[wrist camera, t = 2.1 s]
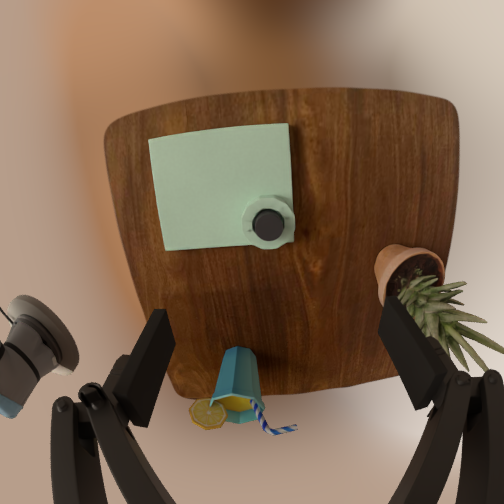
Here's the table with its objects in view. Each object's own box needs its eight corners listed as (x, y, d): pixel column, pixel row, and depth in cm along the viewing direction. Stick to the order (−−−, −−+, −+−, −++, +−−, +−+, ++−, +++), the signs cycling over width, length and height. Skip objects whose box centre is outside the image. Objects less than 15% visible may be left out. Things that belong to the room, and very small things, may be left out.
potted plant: (427, 239, 34) (545, 342, 11) (404, 295, 37) (488, 417, 15) (373, 223, 33) (503, 347, 10) (350, 286, 37) (426, 438, 14)
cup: (288, 336, 40) (299, 418, 26) (289, 370, 43) (297, 445, 29) (197, 341, 41) (178, 420, 27) (207, 374, 44) (194, 447, 30)
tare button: (255, 236, 31) (255, 242, 30) (253, 211, 30) (253, 215, 28) (282, 235, 31) (283, 240, 29) (281, 209, 30) (282, 213, 28)
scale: (168, 247, 35) (161, 256, 32) (151, 139, 29) (142, 139, 26) (292, 238, 34) (296, 247, 31) (287, 123, 29) (290, 122, 26)
